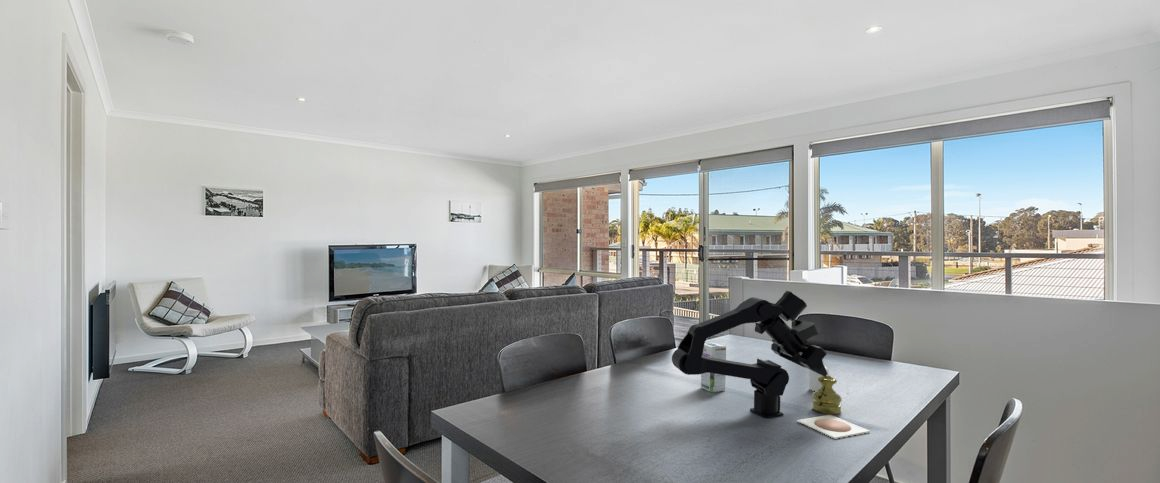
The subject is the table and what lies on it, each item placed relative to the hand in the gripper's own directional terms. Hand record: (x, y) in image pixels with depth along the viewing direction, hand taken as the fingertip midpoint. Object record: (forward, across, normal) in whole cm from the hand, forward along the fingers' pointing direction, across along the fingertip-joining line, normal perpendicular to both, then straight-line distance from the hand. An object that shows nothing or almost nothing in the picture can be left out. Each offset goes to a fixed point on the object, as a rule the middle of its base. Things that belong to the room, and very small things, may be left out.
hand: (815, 370), depth 141 cm
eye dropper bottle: (+17, +16, 0) cm, 23 cm away
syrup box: (-6, +22, +23) cm, 33 cm away
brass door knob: (+11, 0, +6) cm, 12 cm away
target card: (+6, -12, +10) cm, 17 cm away
